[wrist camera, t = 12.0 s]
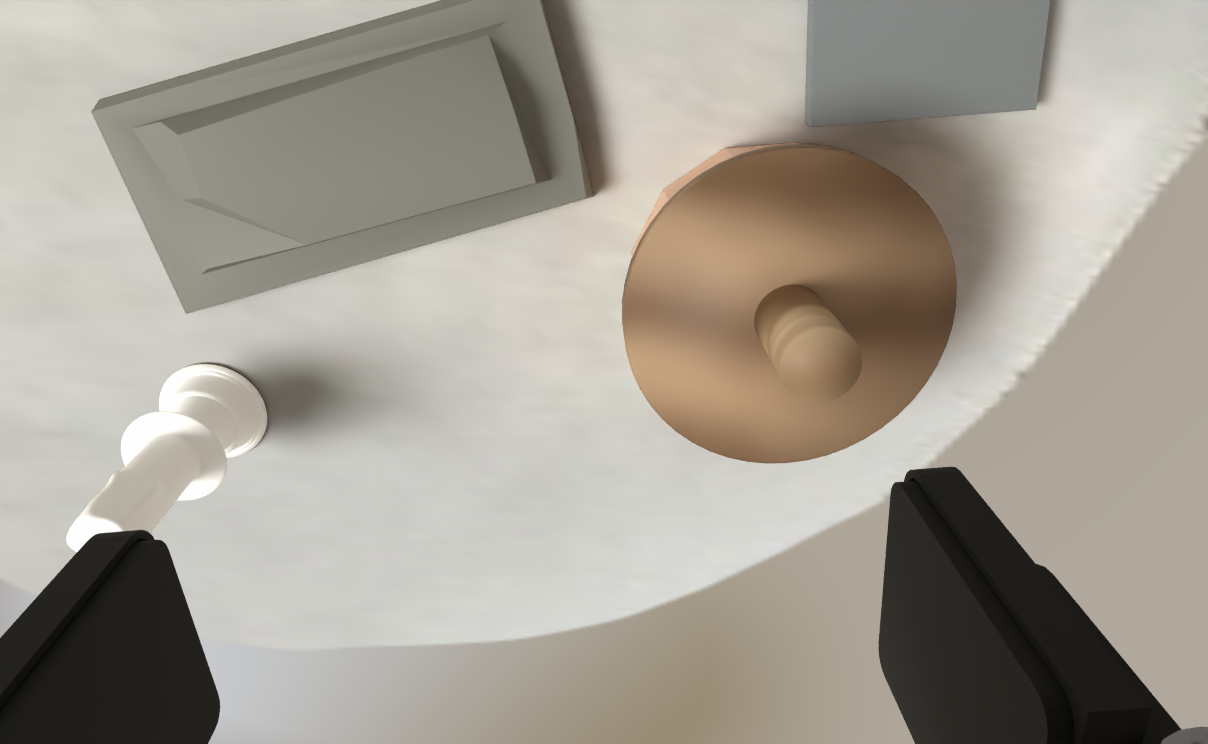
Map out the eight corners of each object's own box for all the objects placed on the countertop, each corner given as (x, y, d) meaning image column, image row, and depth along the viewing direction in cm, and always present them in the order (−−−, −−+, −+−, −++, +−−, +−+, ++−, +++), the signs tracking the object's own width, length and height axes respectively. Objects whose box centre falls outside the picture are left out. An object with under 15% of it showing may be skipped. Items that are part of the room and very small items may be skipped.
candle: (169, 454, 44) (35, 606, 33) (152, 361, 42) (3, 490, 31) (273, 457, 44) (174, 608, 33) (262, 364, 42) (152, 493, 31)
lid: (611, 157, 34) (618, 190, 28) (961, 130, 34) (1039, 157, 28) (631, 461, 39) (640, 539, 34) (930, 438, 39) (989, 512, 34)
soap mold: (102, 94, 37) (57, 103, 34) (535, -31, 36) (531, -34, 33) (204, 306, 41) (173, 331, 38) (597, 201, 40) (598, 218, 37)
